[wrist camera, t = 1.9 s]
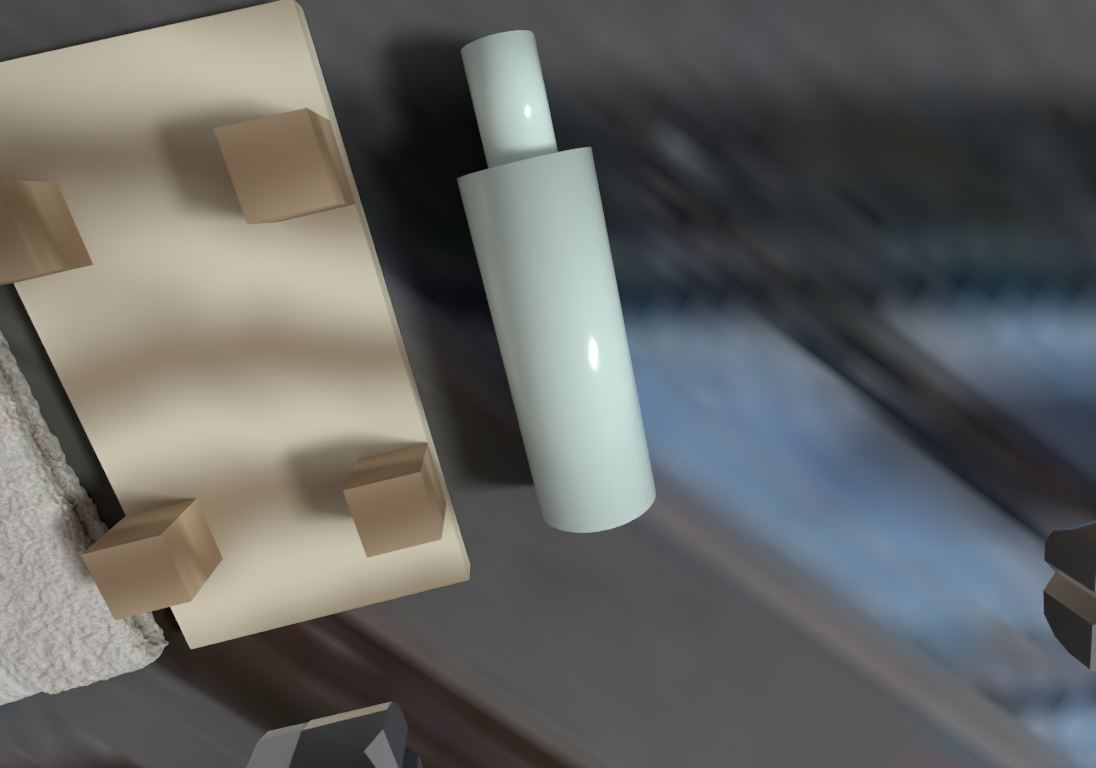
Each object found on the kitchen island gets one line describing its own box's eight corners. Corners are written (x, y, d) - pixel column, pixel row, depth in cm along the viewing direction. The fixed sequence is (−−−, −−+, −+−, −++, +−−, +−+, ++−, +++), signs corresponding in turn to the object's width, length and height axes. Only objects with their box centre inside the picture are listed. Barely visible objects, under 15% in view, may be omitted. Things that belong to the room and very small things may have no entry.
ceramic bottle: (640, 462, 29) (670, 513, 24) (536, 488, 29) (546, 544, 24) (559, 45, 24) (577, 4, 19) (432, 74, 23) (418, 40, 19)
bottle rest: (470, 564, 29) (467, 622, 25) (202, 631, 29) (156, 700, 25) (302, 8, 22) (261, -35, 18) (-55, 87, 22) (-177, 60, 18)
